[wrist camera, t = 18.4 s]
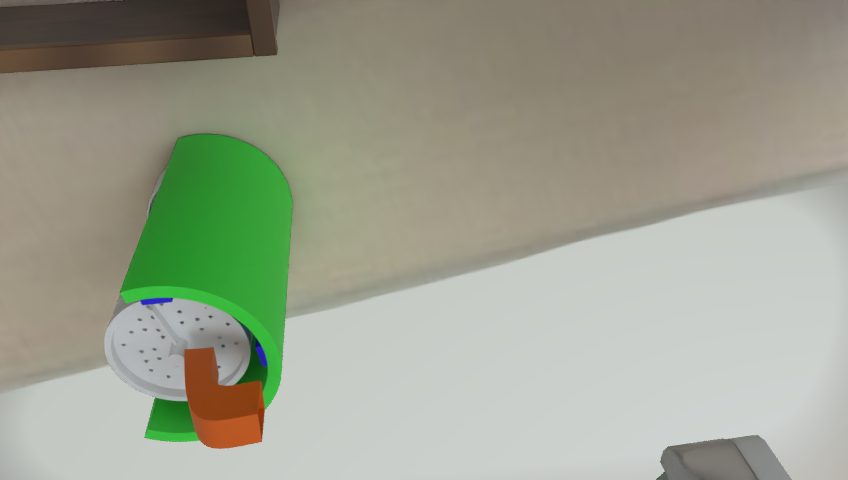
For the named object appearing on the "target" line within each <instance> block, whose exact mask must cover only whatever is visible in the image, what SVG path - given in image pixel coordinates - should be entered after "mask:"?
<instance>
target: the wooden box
mask: <svg viewBox="0 0 848 480" xmlns="http://www.w3.org/2000/svg"><path fill="white" fill-rule="evenodd" d="M279 7H280V5H279V0H125V1H107V2H90V3H73V4H55V5H38V6H20V7H3V8H0V73H14V72H29V71H44V70H59V69H74V68H90V67H105V66H120V65H135V64H150V63H165V62H180V61H195V60H210V59H225V58H241V57H253V56H254V55H255V56H270V55H277V51H278V47H277V40H276V34H277V25H278V16H279Z"/></svg>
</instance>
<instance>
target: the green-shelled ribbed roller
mask: <svg viewBox="0 0 848 480" xmlns="http://www.w3.org/2000/svg"><path fill="white" fill-rule="evenodd" d="M291 222H292V196H291V192H290V188H289V186H288V183H287V181H286V179H285V177H284V175H283V174H282V172H281V171H280V169H279V168H278V167H277V166H276V164H275V163H274V162H273V161H272V160H271V159H270V158H269V157H267V156H266V155H265V154H264V153H262V152H261V151H260V150H258V149H257V148H255V147H253V146H251V145H249V144H247V143H245V142H243V141H240V140H237V139H234V138H231V137H227V136H221V135H213V134H198V135H190V136H185V137H181V138H178V140H177V143H176V145H175V148H174V150H173V153H172V156H171V158H170V161H169V164H168V166H167V168H166V169H165V170H164V171H163V172H162V173H161V175H160V176H159V178H158V180H157V182H156V185H155V187H154V190H153V193H152V195H151V198H150V200H149V203H148V207H147V222H146V224H145V227H144V230H143V232H142V235H141V238H140V240H139V243H138V246H137V248H136V251H135V253H134V256H133V259H132V261H131V264H130V267H129V269H128V272H127V275H126V277H125V280H124V283H123V285H122V288H121V290H120V294H121V295H120V297H119V299H118V301H117V304H116V307H115V310H114V313H113V316H112V318H111V320H110V323H109V325H108V328H107V331H106V334H105V338H104V351H105V355H106V358H107V361H108V363H109V365H110V367H111V368H112V369H113V371H114V372H115V373H116V374H117V376H118V377H119V378H120V379H122V380H123V381H124V382H125V383H127V384H128V385H129V386H131V387H132V388H134V389H136V390H138V391H140V392H142V393H144V394H147V395H149V396H152V397H155V399H154V403H153V407H152V411H151V414H150V418H149V422H148V426H147V430H146V434H145V438H148V439H153V440H160V441H172V442H187V441H198V440H200V441H201V442H202V443H203V444H204V445H206V446H208V447H211V448H220V449H221V448H231V447H237V446H243V445H248V444H253V443H258V442H262V434H263V423H264V411H265V409H266V408H267V407H268V406H269V404H270V403H271V401H272V400H273V398H274V396H275V394H276V392H277V390H278V387H279V384H280V380H281V371H282V357H283V342H284V327H285V326H284V325H285V312H286V297H287V282H288V267H289V252H290V237H291Z"/></svg>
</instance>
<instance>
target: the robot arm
mask: <svg viewBox="0 0 848 480" xmlns="http://www.w3.org/2000/svg"><path fill="white" fill-rule="evenodd" d="M660 462H661V464H662V466H663V468H664V470H665V472H664V473H663V474H662V475H661V476H660V477H658V478H657V479H656V480H791V478H790V477H789V475H788V474H787V472H786V471H785V470H784V468H783V466H782V465H781V464H780V462H779V461H778V459H777V458H776V456H775V455H774V453H773V452H772V450H771V449H770V447H769V446H768V445H767V443H766V442H765V440H764V439H762V438H760V437H759V436H758V435H752V436H745V437H738V438H732V439H717V440H710V441H703V442H697V443H689V444H682V445H676V446H669V447H667V448H666V449H665V450H664V451H663V454H662V457H661V461H660Z"/></svg>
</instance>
